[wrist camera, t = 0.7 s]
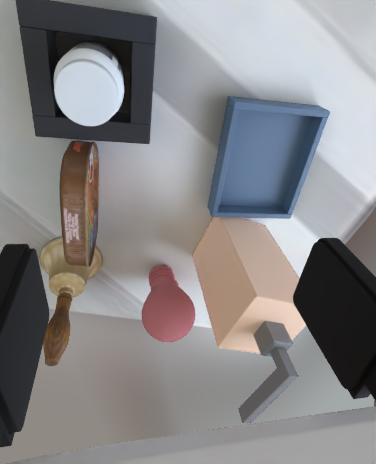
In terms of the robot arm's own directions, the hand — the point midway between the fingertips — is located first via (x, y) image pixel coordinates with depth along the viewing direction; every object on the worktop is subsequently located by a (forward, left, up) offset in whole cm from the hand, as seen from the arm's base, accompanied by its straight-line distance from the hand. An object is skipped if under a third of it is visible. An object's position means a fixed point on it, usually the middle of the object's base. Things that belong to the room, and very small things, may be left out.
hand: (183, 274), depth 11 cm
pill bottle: (-1, -5, -28) cm, 29 cm away
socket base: (-1, -5, -28) cm, 29 cm away
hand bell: (+23, -9, -28) cm, 38 cm away
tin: (+12, -6, -28) cm, 31 cm away
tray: (+7, +15, -28) cm, 33 cm away
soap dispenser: (+22, +13, -28) cm, 38 cm away
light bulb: (+26, +4, -28) cm, 38 cm away
